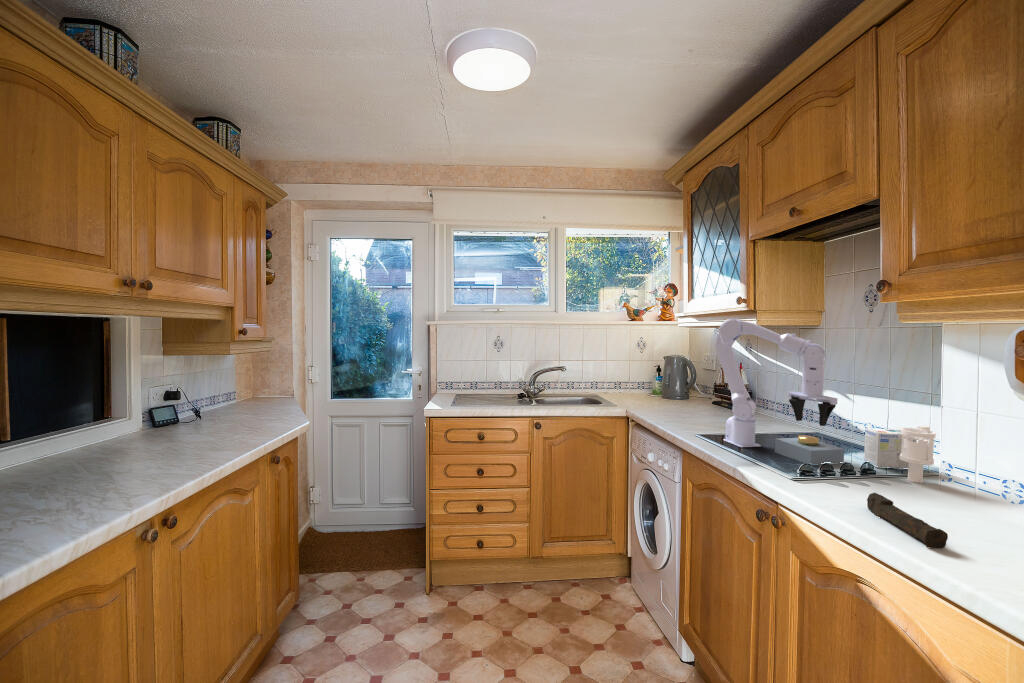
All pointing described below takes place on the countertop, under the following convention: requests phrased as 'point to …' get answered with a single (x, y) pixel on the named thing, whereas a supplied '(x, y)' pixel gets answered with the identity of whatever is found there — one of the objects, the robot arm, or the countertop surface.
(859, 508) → the countertop surface
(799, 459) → the block
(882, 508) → the brown wooden log
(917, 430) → the strainer
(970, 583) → the countertop surface
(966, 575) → the countertop surface
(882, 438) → the light bulb box
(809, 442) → the brass door knob
